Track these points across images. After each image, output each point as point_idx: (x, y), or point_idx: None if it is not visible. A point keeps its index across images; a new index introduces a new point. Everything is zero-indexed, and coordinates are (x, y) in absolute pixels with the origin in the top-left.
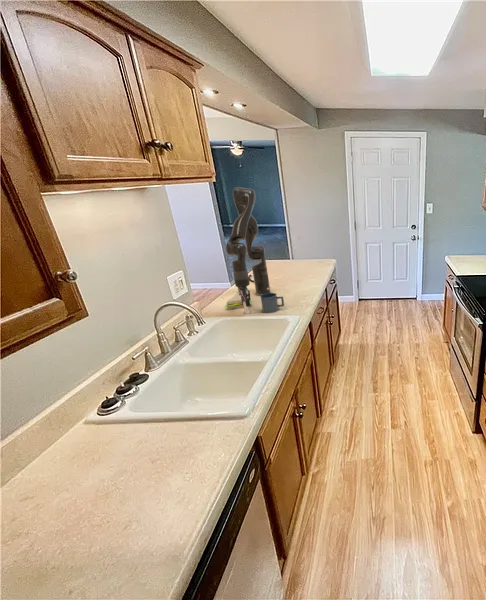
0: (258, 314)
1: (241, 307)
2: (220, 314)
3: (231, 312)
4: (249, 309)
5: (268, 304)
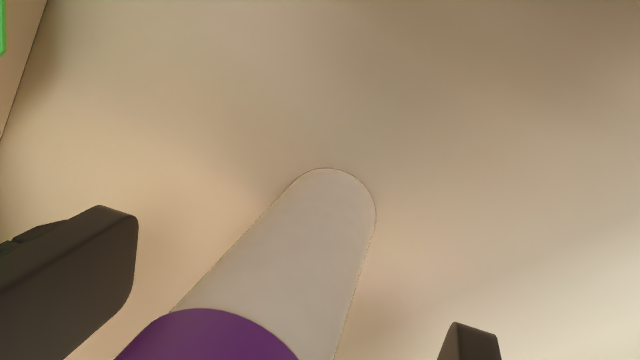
0: (632, 152)
1: (7, 117)
2: None
3: (107, 327)
4: (353, 209)
5: None
